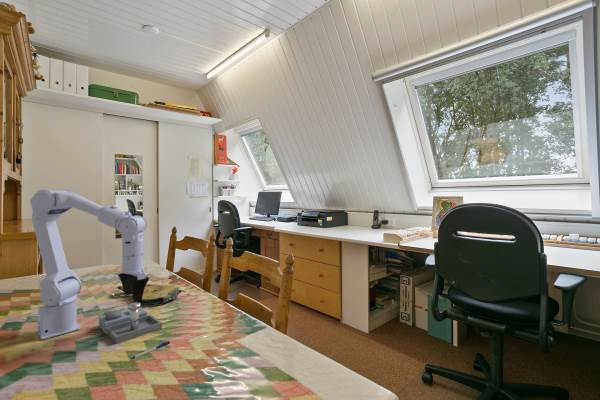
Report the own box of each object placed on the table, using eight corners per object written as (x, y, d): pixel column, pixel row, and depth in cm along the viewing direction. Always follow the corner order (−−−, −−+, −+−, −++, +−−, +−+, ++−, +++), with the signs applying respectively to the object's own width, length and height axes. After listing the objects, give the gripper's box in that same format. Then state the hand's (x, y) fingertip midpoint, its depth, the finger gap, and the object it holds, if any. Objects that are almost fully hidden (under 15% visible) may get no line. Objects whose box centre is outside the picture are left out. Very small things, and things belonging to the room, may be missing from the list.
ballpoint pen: (168, 343, 86) (168, 339, 86) (170, 344, 86) (170, 340, 86) (130, 359, 78) (130, 355, 78) (132, 360, 77) (132, 357, 77)
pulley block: (135, 274, 134) (186, 283, 122) (137, 286, 135) (188, 296, 123) (105, 288, 121) (158, 299, 109) (107, 301, 122) (160, 314, 110)
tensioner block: (105, 333, 91) (105, 318, 91) (99, 326, 96) (99, 312, 96) (146, 320, 100) (146, 307, 100) (138, 315, 105) (138, 302, 105)
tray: (115, 343, 85) (115, 337, 85) (106, 333, 91) (106, 327, 91) (161, 328, 95) (161, 322, 95) (150, 320, 101) (150, 314, 101)
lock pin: (130, 333, 90) (130, 307, 90) (126, 329, 93) (125, 304, 93) (142, 329, 93) (142, 304, 93) (138, 325, 96) (138, 301, 95)
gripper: (155, 256, 91) (155, 300, 91) (138, 249, 101) (138, 289, 101) (130, 259, 86) (130, 306, 86) (114, 252, 96) (114, 294, 96)
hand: (133, 297), depth 93 cm, fingers open, 7 cm apart
